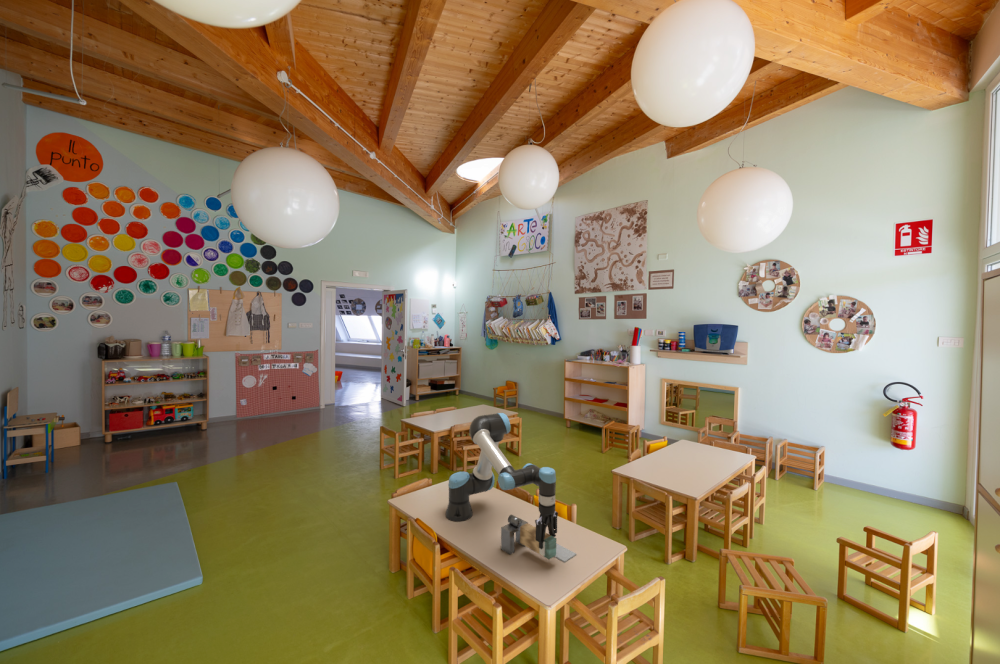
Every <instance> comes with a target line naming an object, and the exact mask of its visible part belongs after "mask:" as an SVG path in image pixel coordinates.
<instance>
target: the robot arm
mask: <svg viewBox="0 0 1000 664" xmlns="http://www.w3.org/2000/svg"><path fill="white" fill-rule="evenodd" d="M468 432H469V436H470V438H471V441H472V442H473V443H474V444H475V445H477V446H478V448H479V449H480V453H479V457H478V460H477V464H476V465H475V466H474V468H473V469H472V472H471V473H469V472H468V471H458V472H455V473H453V474H451V475H450V476H449V479H448V504H447V508H446V511H445V517H446V519H448V520H450V521H453V522H464V521H467V520H469V519H470V518H472V516H473V508H472V505H471V503H470V496H473V495H477V494H480V493H486V492H488V491H490V490H492V489H493V487H494V486H495V475H494V472H493V471H492V468H493V469H494V471H495V472H496V473H497V474H498V477H497V482H498V485H499V488H500V489H501V490H503V491H509V490H513V489H515V488H520V487H524V486H527V485H532V484H534V485H536V486H537V487H538V512H539V516H538V517H539V518H538V519H535V520H534V523H535V527H536V541H538V542H539V554H538V555H540V554H541V555H540V556H542V557H544V556H545V541H544V537H545V532H546V531H547V530H548V531H547V532H548V534H549V535H551V536H553V537H555V538H556V537H557V533H558V516H559V512H557V511H556V489H557V488H556V486H557V485H556V483H557V482H556V481H557V477H556V470H555V469H554V468H552V467H549V466H543V467H539V466H538V465H535V464H532V463H529V462H528V463H526V464H525V465H524V466H523V467H522V468H518V469H515V468H514V467H513V465H512V464H511V463H510V461H509V460H508V459H507V457H506V456H505V455H504V453H503V452H502V450H501V449H500V448H499V444H500V442H502V441H503V440H504V438H505V437H504V436H505V435H507V434H509V433H510V432H511V422H510V419H509V417H508V415H507V414H505V413H503V412H496V413H490V414H484V415H478V416H477V417H475V418H474V419H473V420H472V421H471V423H470V425H469V431H468ZM547 532H546V533H547Z"/></svg>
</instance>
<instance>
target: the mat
mask: <svg viewBox="0 0 1000 664" xmlns="http://www.w3.org/2000/svg"><path fill="white" fill-rule="evenodd" d="M577 555H578V554H577V553H576V552H575V551H572V550H570V549H569V548H566V547H564V546H563V545H561V544H558V543H557V542H556V556H554V557H553V558H556V559H557V560H559V561H561V562H563V563H566V562H568V561H570V560H571V559H573V558H574V557H575V556H577Z"/></svg>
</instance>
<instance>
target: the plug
mask: <svg viewBox="0 0 1000 664" xmlns="http://www.w3.org/2000/svg"><path fill="white" fill-rule="evenodd" d="M544 541H545V556H543V557H544V558H545V559H547V560H551V559H552V558H555V557H554V556H556V543H557V537H556V536H555V537H553V536H551V535H550V534H549V533H547V532H545V537H544ZM520 543H521V544H523V545H525V546H524V547H526V548H529V549H530V550H532V551H533V552H535V553H537V554H538V555H540V556H542V555H541V554H539V542H538V541H536V526H534V525H532V524H531V523H529V522H528V523H526V524H525V525H523V526H521V527H520ZM521 544H520V545H521Z"/></svg>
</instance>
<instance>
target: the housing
mask: <svg viewBox="0 0 1000 664" xmlns="http://www.w3.org/2000/svg"><path fill="white" fill-rule="evenodd" d="M507 522H508V523H507V524H506V525H503V526H501V528H500V540H501V541H500V549H501V550H502V551H503V552H505V553H506V554H508V555H511V554H512V555H513V554H514V553H515V542H516V543H517V544H519V545H521V546H523V547H526V546H525V545H523V544H521V543H520V527H521V526H523V525H525V524H526V523H528V524H529V522H528V521H525V520H524V519H522V518H521V517H520V518H519V517H517V516H516V515H514V514H510V515H508V518H507Z"/></svg>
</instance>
